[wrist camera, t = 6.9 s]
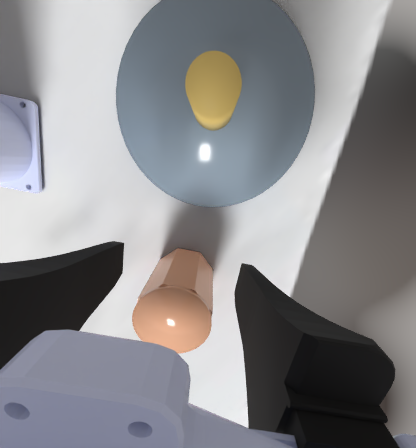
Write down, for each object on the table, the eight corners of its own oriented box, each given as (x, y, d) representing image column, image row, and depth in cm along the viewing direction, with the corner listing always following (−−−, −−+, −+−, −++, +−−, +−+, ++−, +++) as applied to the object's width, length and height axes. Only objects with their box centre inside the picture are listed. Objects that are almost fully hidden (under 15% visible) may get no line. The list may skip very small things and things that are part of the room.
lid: (116, 187, 19) (111, 188, 18) (128, -30, 14) (122, -44, 13) (276, 219, 19) (279, 221, 18) (338, 19, 15) (347, 9, 14)
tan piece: (154, 291, 22) (129, 346, 16) (161, 243, 20) (135, 282, 14) (206, 301, 22) (203, 359, 16) (217, 254, 21) (218, 297, 14)
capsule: (191, 126, 16) (181, 111, 11) (196, 82, 15) (189, 45, 11) (228, 133, 16) (235, 120, 12) (236, 90, 15) (247, 56, 11)
